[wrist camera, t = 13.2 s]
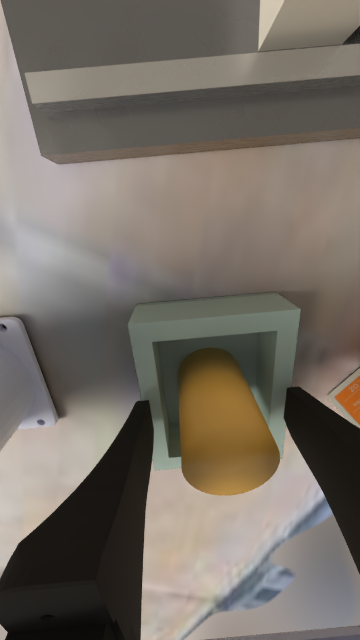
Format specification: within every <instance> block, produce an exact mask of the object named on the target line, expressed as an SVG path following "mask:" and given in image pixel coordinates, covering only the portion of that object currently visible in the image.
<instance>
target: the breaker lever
mask: <svg viewBox="0 0 360 640" xmlns="http://www.w3.org/2000/svg"><path fill="white" fill-rule="evenodd" d="M359 26H360V0H260V18H259V46H258V52H259V51H270V50H282V49H293V48H304V47H316V46H327V45H339V44H343V43H344V41H345V40H346V39H347V38H348V37H349V36H350V35H351V34H352V33H353V32H354V31H355V30H356V29H357V28H358V27H359Z"/></svg>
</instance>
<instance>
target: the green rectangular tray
mask: <svg viewBox="0 0 360 640" xmlns="http://www.w3.org/2000/svg"><path fill="white" fill-rule="evenodd" d="M300 313H301V309H300V308H299V307H297V306H296V305H294V304H293V303H291V302H290V301H288V300H287V299H285V298H284V297H282V296H281V295H279V294H278V293H276V292H267V293H256V294H245V295H233V296H222V297H211V298H200V299H188V300H177V301H166V302H155V303H144V304H136V306H135V308H134V310H133V313H132V315H131V318H130V320H129V322H128V330H129V335H130V341H131V346H132V352H133V357H134V363H135V368H136V373H137V379H138V384H139V390H140V395H141V400H142V401H145V400H149V403H150V409H151V415H152V421H153V427H154V444H153V456H152V460H153V465H154V470H166V469H177V468H182V467H181V444H180V420H179V397H178V369H179V367H180V364H181V363H182V361H183V360H184V359H185V358H186V357H187V356H188V355H189V354H191V353H192V352H194V351H196V350H199V349H203V348H219V349H222V350H225V351H227V352H229V353H230V354H231V355H233V356H234V358H235V359H236V360H237V362H238V364H239V366H240V368H241V370H242V372H243V375H244V377H245V379H246V381H247V383H248V385H249V387H250V389H251V391H252V393H253V396H254V398H255V400H256V402H257V404H258V406H259V408H260V410H261V412H262V415H263V417H264V419H265V421H266V423H267V425H268V427H269V429H270V431H271V434H272V436H273V438H274V440H275V442H276V444H277V446H278V449H279V452H280V459H282V455H283V447H284V439H285V431H286V423H285V420H284V418H283V417H284V408H285V400H286V391H287V388H289V387H291V384H292V376H293V368H294V361H295V353H296V345H297V337H298V329H299V321H300Z"/></svg>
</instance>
